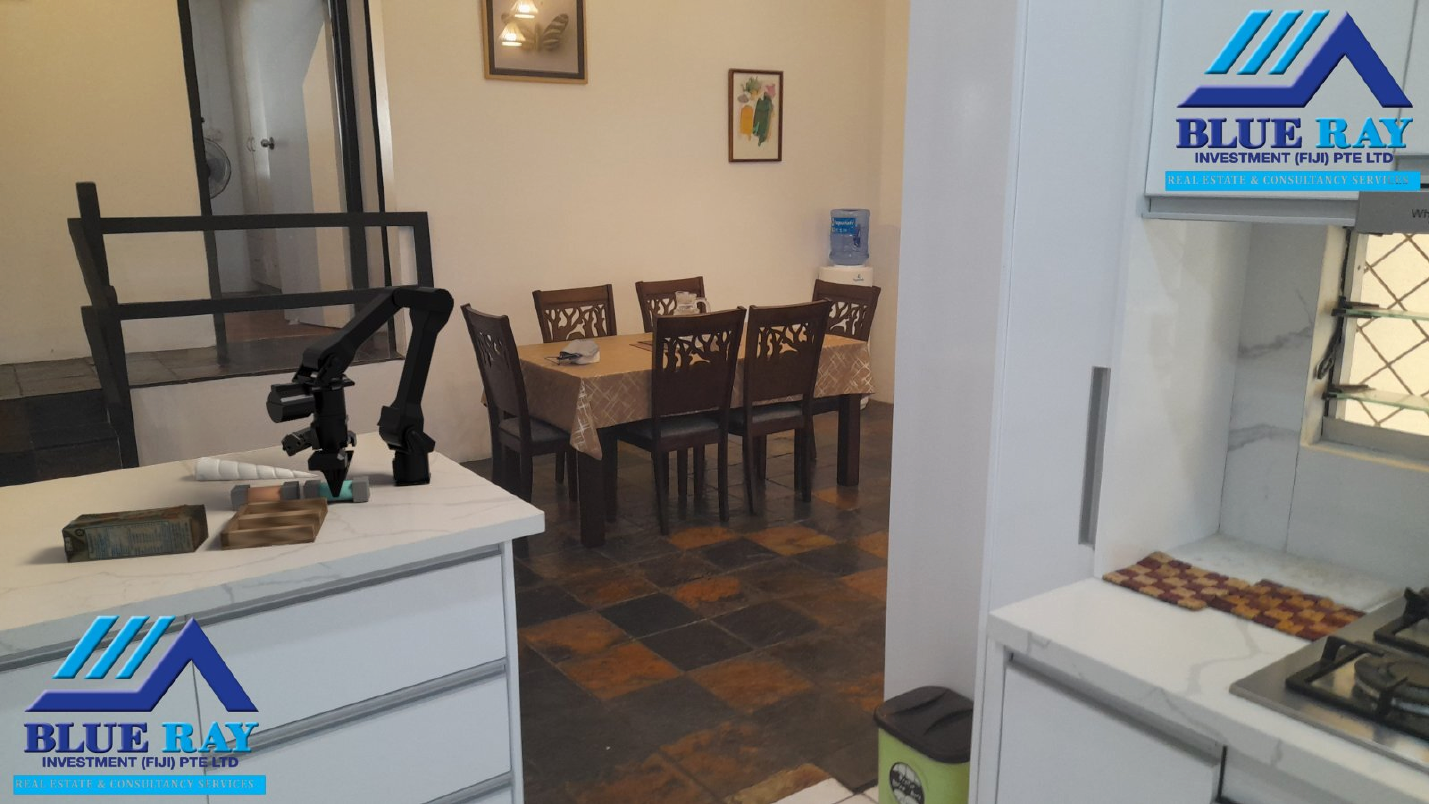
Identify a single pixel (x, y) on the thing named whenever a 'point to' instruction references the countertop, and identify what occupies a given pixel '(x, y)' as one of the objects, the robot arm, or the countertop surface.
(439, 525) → the countertop surface
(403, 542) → the countertop surface
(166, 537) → the beverage carton
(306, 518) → the wooden tray
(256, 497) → the orange capped cylinder
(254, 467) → the unicorn horn
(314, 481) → the teal capped cylinder
